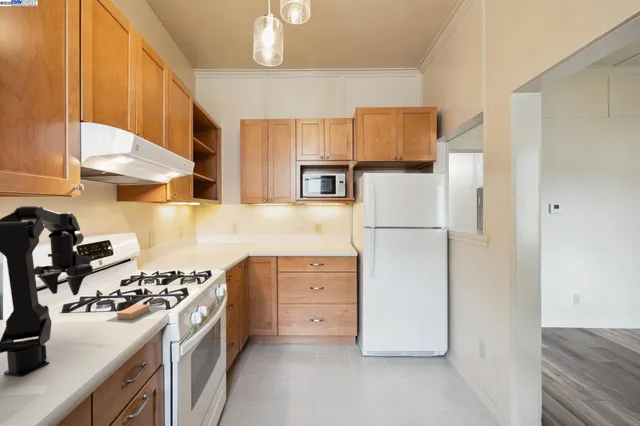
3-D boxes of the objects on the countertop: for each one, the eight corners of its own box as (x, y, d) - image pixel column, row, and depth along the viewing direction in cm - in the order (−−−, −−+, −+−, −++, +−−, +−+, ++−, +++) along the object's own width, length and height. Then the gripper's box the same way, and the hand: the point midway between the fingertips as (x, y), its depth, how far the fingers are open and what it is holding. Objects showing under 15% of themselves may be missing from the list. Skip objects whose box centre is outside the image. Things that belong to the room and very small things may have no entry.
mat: (132, 324, 105) (132, 323, 105) (105, 322, 108) (105, 320, 108) (165, 308, 121) (165, 307, 121) (141, 306, 123) (141, 305, 123)
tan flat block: (130, 313, 108) (149, 304, 117) (117, 312, 109) (136, 304, 118) (131, 319, 108) (149, 310, 117) (117, 319, 109) (136, 310, 118)
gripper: (106, 246, 105) (108, 288, 106) (66, 245, 109) (69, 286, 110) (74, 251, 94) (76, 298, 95) (31, 250, 99) (34, 296, 99)
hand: (65, 294), depth 100 cm, fingers open, 9 cm apart
